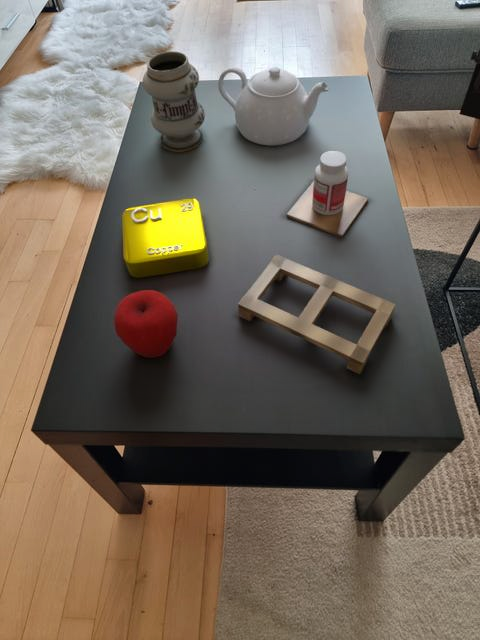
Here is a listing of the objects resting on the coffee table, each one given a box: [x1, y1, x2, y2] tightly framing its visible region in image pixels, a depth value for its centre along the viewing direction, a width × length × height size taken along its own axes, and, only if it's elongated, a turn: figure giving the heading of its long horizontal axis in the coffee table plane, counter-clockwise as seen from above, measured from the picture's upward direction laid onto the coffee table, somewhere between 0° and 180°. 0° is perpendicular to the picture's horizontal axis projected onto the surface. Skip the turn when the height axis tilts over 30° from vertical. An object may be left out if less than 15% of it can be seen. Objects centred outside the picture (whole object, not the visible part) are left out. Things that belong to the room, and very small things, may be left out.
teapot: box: [217, 66, 329, 146], centre depth 107 cm, size 19×18×14 cm
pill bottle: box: [312, 150, 349, 215], centre depth 90 cm, size 6×6×11 cm
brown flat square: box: [286, 180, 369, 238], centre depth 95 cm, size 12×12×1 cm
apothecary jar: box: [142, 50, 206, 153], centre depth 104 cm, size 12×12×18 cm
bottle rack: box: [237, 254, 397, 375], centre depth 79 cm, size 22×13×4 cm, turn 58°
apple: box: [113, 289, 179, 358], centre depth 74 cm, size 10×10×11 cm
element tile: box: [121, 198, 210, 279], centre depth 90 cm, size 15×15×5 cm
